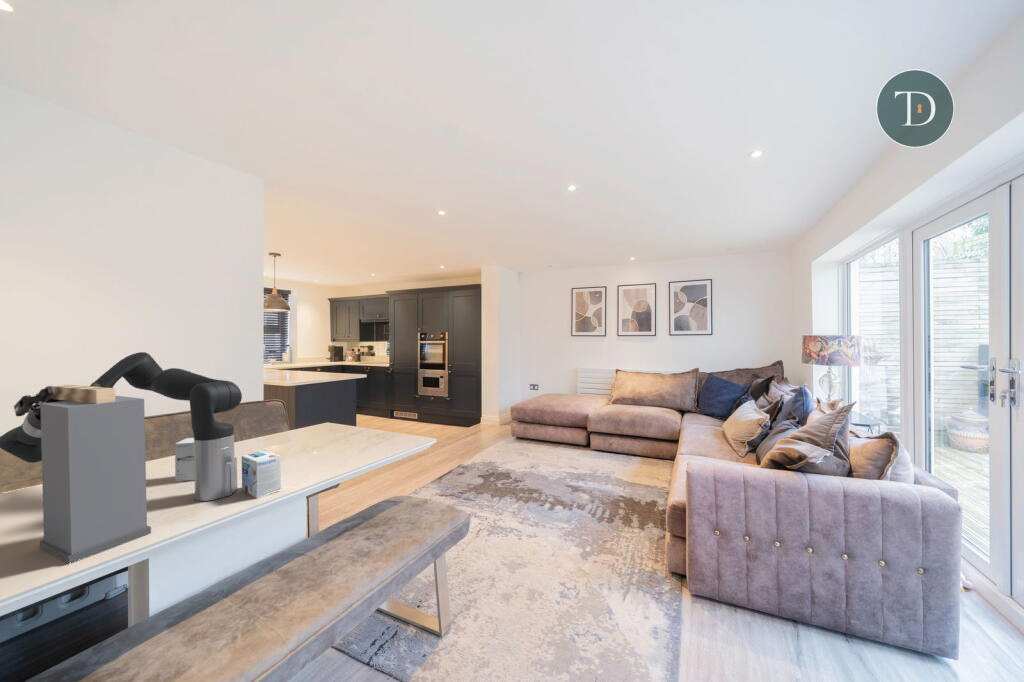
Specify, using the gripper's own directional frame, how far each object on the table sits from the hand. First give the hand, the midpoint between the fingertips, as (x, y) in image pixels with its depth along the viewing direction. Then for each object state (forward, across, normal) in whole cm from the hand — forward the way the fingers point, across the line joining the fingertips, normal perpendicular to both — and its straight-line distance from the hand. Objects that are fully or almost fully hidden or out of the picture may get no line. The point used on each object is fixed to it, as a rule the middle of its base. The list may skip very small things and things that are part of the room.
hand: (74, 387), depth 89 cm
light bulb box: (-3, +32, +39) cm, 51 cm away
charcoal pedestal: (-9, 0, +35) cm, 36 cm away
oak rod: (+3, 0, +5) cm, 6 cm away
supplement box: (-31, +31, +22) cm, 49 cm away
